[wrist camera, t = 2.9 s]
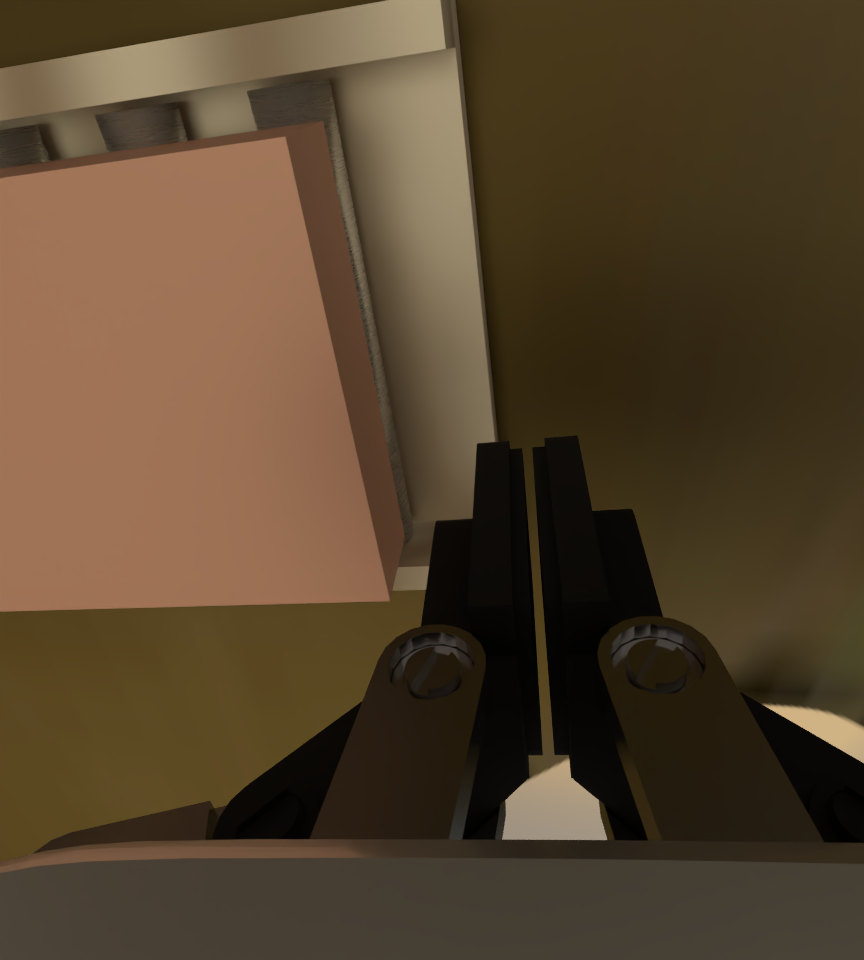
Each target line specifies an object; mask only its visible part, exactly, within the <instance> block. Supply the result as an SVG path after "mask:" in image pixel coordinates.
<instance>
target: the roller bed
mask: <svg viewBox="0 0 864 960" xmlns="http://www.w3.org/2000/svg"><path fill="white" fill-rule="evenodd" d="M323 78H329V79H330V84H331V90H332V95H333V101H334V106H335V111H336V117H337V122H338V127H339V133H340V138H341V143H342V149H343V154H344V159H345V165H346V170H347V175H348V181H349V186H350V191H351V197H352V202H353V208H354V213H355V218H356V224H357V229H358V234H359V240H360V245H361V250H362V256H363V261H364V266H365V272H366V277H367V282H368V288H369V293H370V298H371V304H372V309H373V315H374V320H375V325H376V331H377V336H378V341H379V347H380V352H381V357H382V363H383V368H384V373H385V379H386V384H387V389H388V395H389V400H390V405H391V411H392V416H393V422H394V427H395V432H396V438H397V443H398V448H399V454H400V459H401V464H402V470H403V475H404V480H405V486H406V491H407V496H408V502H409V507H410V512H411V518H412V523H413V529H414V535H413V537H412V539H411V540H410V542H409V543H407V544H406V545H405V546H403V548H402V552H401V556H400V560H399V565H398V569H397V573H396V577H395V582H394V586H393V590H392V591H398V590H426V586H427V579H428V571H429V564H430V556H431V549H432V541H433V534H434V527H435V523H436V521H441V520H457V519H472V518H473V501H474V484H475V466H476V449H477V443H488V442H498V432H497V421H496V411H495V401H494V391H493V380H492V370H491V360H490V349H489V339H488V329H487V319H486V308H485V298H484V288H483V277H482V267H481V257H480V247H479V236H478V226H477V216H476V205H475V195H474V185H473V175H472V164H471V154H470V144H469V133H468V123H467V113H466V103H465V92H464V82H463V72H462V62H461V51H460V41H459V31H458V20H457V10H456V0H387V1H382V2H376V3H370V4H364V5H359V6H353V7H347V8H342V9H336V10H330V11H325V12H319V13H313V14H308V15H302V16H296V17H291V18H285V19H279V20H274V21H268V22H262V23H257V24H251V25H245V26H240V27H234V28H228V29H223V30H217V31H211V32H205V33H200V34H194V35H188V36H183V37H177V38H171V39H166V40H160V41H154V42H149V43H143V44H137V45H132V46H126V47H120V48H115V49H109V50H103V51H98V52H92V53H86V54H81V55H75V56H69V57H64V58H58V59H52V60H46V61H41V62H35V63H29V64H24V65H18V66H12V67H7V68H1V69H0V130H2V129H8V128H14V127H21V126H27V125H34V124H37V126H38V129H39V131H40V134H41V136H42V139H43V142H44V144H45V147H46V149H47V152H48V154H49V157H50V159H51V161H55V160H62V159H69V158H76V157H82V156H89V155H96V154H102V153H108V152H107V150H106V147H105V144H104V141H103V138H102V135H101V133H100V130H99V127H98V124H97V121H96V118H95V116H94V115H99V114H105V113H110V112H116V111H122V110H128V109H134V108H140V107H146V106H152V105H159V104H165V103H172V102H177V105H178V108H179V111H180V115H181V118H182V122H183V125H184V128H185V132H186V135H187V139H188V141H190V140H197V139H203V138H210V137H217V136H224V135H230V134H237V133H244V132H251V131H256V127H255V123H254V119H253V115H252V111H251V107H250V103H249V99H248V95H247V91H250V90H255V89H261V88H266V87H272V86H278V85H284V84H291V83H297V82H303V81H309V80H316V79H323Z"/></svg>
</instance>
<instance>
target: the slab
mask: <svg viewBox="0 0 864 960" xmlns="http://www.w3.org/2000/svg"><path fill="white" fill-rule="evenodd" d="M404 539H405V534H404V529H403V524H402V519H401V514H400V509H399V504H398V499H397V494H396V488H395V483H394V478H393V473H392V468H391V463H390V458H389V453H388V448H387V443H386V438H385V433H384V427H383V422H382V417H381V412H380V407H379V402H378V397H377V392H376V387H375V382H374V377H373V372H372V366H371V361H370V356H369V351H368V346H367V341H366V336H365V331H364V326H363V321H362V316H361V310H360V305H359V300H358V295H357V290H356V285H355V280H354V275H353V270H352V265H351V260H350V255H349V249H348V244H347V239H346V234H345V229H344V224H343V219H342V214H341V209H340V204H339V199H338V194H337V188H336V183H335V178H334V173H333V168H332V163H331V158H330V153H329V148H328V143H327V138H326V132H325V127H324V122H323V121H318V122H311V123H304V124H298V125H291V126H284V127H277V128H271V129H264V130H257V131H251V132H244V133H237V134H230V135H224V136H217V137H210V138H203V139H197V140H190V141H183V142H176V143H170V144H163V145H156V146H150V147H143V148H136V149H129V150H123V151H116V152H109V153H102V154H96V155H89V156H82V157H76V158H69V159H62V160H55V161H49V162H42V163H35V164H28V165H22V166H15V167H8V168H1V169H0V611H35V610H72V609H110V608H147V607H185V606H222V605H260V604H297V603H335V602H372V601H390V599H391V595H392V590H393V586H394V582H395V577H396V573H397V569H398V565H399V560H400V556H401V552H402V548H403V543H404Z"/></svg>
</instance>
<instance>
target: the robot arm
mask: <svg viewBox="0 0 864 960" xmlns="http://www.w3.org/2000/svg"><path fill="white" fill-rule="evenodd" d="M533 463H534V478H535V492H536V507H537V522H538V537H539V552H540V567H541V581H542V595H543V608H544V621H545V634H546V647H547V661H548V674H549V687H550V700H551V713H552V727H553V740H554V753H555V755H569V759H570V769H571V778H573V779H574V780H575V781H576V782H578V783H579V784H580V785H581V786H582V787H584V788H585V789H586V790H587V791H588V792H590V793H591V794H592V795H593V796H595V797H596V798H597V799H598V800H599V805H600V814H601V819H602V822H603V825H604V829H605V833H606V836H607V840H502V837H503V830H504V823H505V817H506V807H505V806H506V805H505V800H506V799H507V798H508V797H509V796H510V795H511V794H512V793H513V792H514V791H515V790H516V789H517V788H518V787H519V786H520V785H522V784H523V783H524V782H525V781H526V780H527V778H529V757H528V755H543V753H542V736H541V719H540V702H539V685H538V668H537V651H536V634H535V617H534V600H533V584H532V570H531V557H530V544H529V531H528V518H527V505H526V492H525V479H524V466H523V453H522V448H520V449H510V445H509V441H501V442H488V443H477V449H476V466H475V484H474V501H473V518H472V519H457V520H441V521H436V523H435V527H434V534H433V541H432V549H431V556H430V564H429V571H428V579H427V586H426V594H425V601H424V608H423V616H422V623H421V627H418V628H414V629H411V630H409V631H407V632H405V633H404V634H402V635H400V636H398V637H396V638H395V639H394V640H393V641H392V642H391V643H390V644H389V645H388V646H387V647H386V648H385V650H384V651H383V653H382V655H381V656H380V658H379V660H378V662H377V665H376V668H375V670H374V673H373V675H372V678H371V681H370V683H369V686H368V688H367V691H366V693H365V696H364V699H363V701H362V702H361V703H359V704H358V705H356V706H355V707H354V708H352V709H351V710H350V711H348V712H347V713H346V714H344V715H343V716H341V717H340V718H339V719H337V720H336V721H335V722H333V723H332V724H331V725H329V726H328V727H326V728H325V729H324V730H322V731H321V732H320V733H318V734H317V735H315V736H314V737H313V738H311V739H310V740H309V741H307V742H306V743H305V744H303V745H302V746H300V747H299V748H298V749H296V750H295V751H294V752H292V753H291V754H290V755H288V756H287V757H285V758H284V759H283V760H281V761H280V762H279V763H277V764H276V765H275V766H273V767H272V768H270V769H269V770H268V771H266V772H265V773H264V774H262V775H261V776H260V777H258V778H257V779H255V780H254V781H253V782H251V783H250V784H249V785H247V786H246V787H245V788H244V789H243V790H241V791H240V792H239V793H238V794H237V795H236V796H235V797H234V798H233V799H232V800H231V801H230V802H229V804H228V805H227V806H223V807H219V808H215V809H214V807H213V805H212V803H211V802H210V801H208V802H203V803H199V804H194V805H190V806H186V807H181V808H177V809H172V810H168V811H164V812H159V813H155V814H150V815H146V816H142V817H137V818H133V819H128V820H124V821H120V822H115V823H111V824H107V825H102V826H98V827H93V828H89V829H85V830H80V831H76V832H71V833H69V834H66V835H64V836H61V837H58V838H56V839H53V840H51V841H50V842H48V843H47V844H45V845H44V846H42V847H41V848H40V849H38V850H37V851H35V852H34V853H33V854H30V855H26V856H22V857H17V858H13V859H9V860H5V861H1V862H0V960H864V763H862V762H860V761H859V760H857V759H855V758H853V757H852V756H850V755H848V754H846V753H845V752H843V751H841V750H840V749H838V748H836V747H834V746H832V745H831V744H829V743H828V742H826V741H824V740H822V739H821V738H819V737H817V736H815V735H814V734H812V733H810V732H809V731H807V730H805V729H803V728H801V727H800V726H798V725H796V724H795V723H793V722H791V721H789V720H788V719H786V718H784V717H782V716H781V715H779V714H777V713H776V712H774V711H772V710H770V709H769V708H767V707H765V706H763V705H762V704H760V703H758V702H757V701H755V700H753V699H751V698H750V697H748V696H746V695H744V694H743V693H741V692H739V690H738V688H737V687H736V685H735V683H734V681H733V680H732V678H731V676H730V674H729V673H728V671H727V669H726V667H725V665H724V664H723V662H722V660H721V658H720V657H719V655H718V653H717V651H716V650H715V648H714V647H713V646H712V644H711V643H710V642H709V641H708V639H707V638H706V637H705V636H704V635H703V634H701V633H700V632H698V631H697V630H696V629H694V628H693V627H691V626H689V625H687V624H685V623H682V622H680V621H677V620H675V619H670V618H664V617H663V615H662V612H661V608H660V604H659V601H658V597H657V594H656V590H655V587H654V583H653V579H652V576H651V572H650V569H649V565H648V562H647V558H646V554H645V551H644V547H643V544H642V540H641V537H640V533H639V530H638V526H637V522H636V519H635V516H634V513H633V510H632V509H620V510H603V511H592V507H591V502H590V497H589V492H588V487H587V482H586V476H585V471H584V466H583V461H582V456H581V451H580V445H579V440H578V436H566V437H553V438H545V447H533Z"/></svg>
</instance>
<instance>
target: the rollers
mask: <svg viewBox="0 0 864 960" xmlns="http://www.w3.org/2000/svg"><path fill="white" fill-rule="evenodd" d="M247 95H248V99H249V103H250V107H251V111H252V115H253V119H254V123H255V127H256V131H257V130H264V129H271V128H277V127H284V126H291V125H298V124H304V123H311V122H318V121H323V122H324V127H325V132H326V138H327V143H328V148H329V153H330V158H331V163H332V168H333V173H334V178H335V183H336V188H337V194H338V199H339V204H340V209H341V214H342V219H343V224H344V229H345V234H346V239H347V244H348V249H349V255H350V260H351V265H352V270H353V275H354V280H355V285H356V290H357V295H358V300H359V305H360V310H361V316H362V321H363V326H364V331H365V336H366V341H367V346H368V351H369V356H370V361H371V366H372V372H373V377H374V382H375V387H376V392H377V397H378V402H379V407H380V412H381V417H382V422H383V427H384V433H385V438H386V443H387V448H388V453H389V458H390V463H391V468H392V473H393V478H394V483H395V488H396V494H397V499H398V504H399V509H400V514H401V519H402V524H403V529H404V534H405V539H404V543H403V546H405V545H406V544H407V543H409V542H410V540H411V539H412V537H413V535H414V529H413V523H412V518H411V512H410V507H409V502H408V496H407V491H406V486H405V480H404V475H403V470H402V464H401V459H400V454H399V448H398V443H397V438H396V432H395V427H394V422H393V416H392V411H391V405H390V400H389V395H388V389H387V384H386V379H385V373H384V368H383V363H382V357H381V352H380V347H379V341H378V336H377V331H376V325H375V320H374V315H373V309H372V304H371V298H370V293H369V288H368V282H367V277H366V272H365V266H364V261H363V256H362V250H361V245H360V240H359V234H358V229H357V224H356V218H355V213H354V208H353V202H352V197H351V191H350V186H349V181H348V175H347V170H346V165H345V159H344V154H343V149H342V143H341V138H340V133H339V127H338V122H337V117H336V111H335V106H334V101H333V95H332V90H331V84H330V79H329V78H323V79H316V80H309V81H303V82H297V83H291V84H284V85H278V86H272V87H266V88H261V89H255V90H250V91H247ZM94 116H95V118H96V121H97V124H98V127H99V130H100V133H101V135H102V138H103V141H104V144H105V147H106V150H107V152H108V153H109V152H116V151H123V150H129V149H136V148H143V147H150V146H156V145H163V144H170V143H176V142H183V141H188V139H187V135H186V132H185V128H184V125H183V122H182V118H181V115H180V111H179V108H178V105H177V102H172V103H165V104H159V105H152V106H146V107H140V108H134V109H128V110H122V111H116V112H110V113H105V114H99V115H94ZM49 161H51V159H50V157H49V154H48V152H47V149H46V147H45V144H44V142H43V139H42V136H41V134H40V131H39V129H38V126H37V124H34V125H27V126H21V127H14V128H8V129H2V130H0V169H1V168H8V167H15V166H22V165H28V164H35V163H42V162H49Z"/></svg>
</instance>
